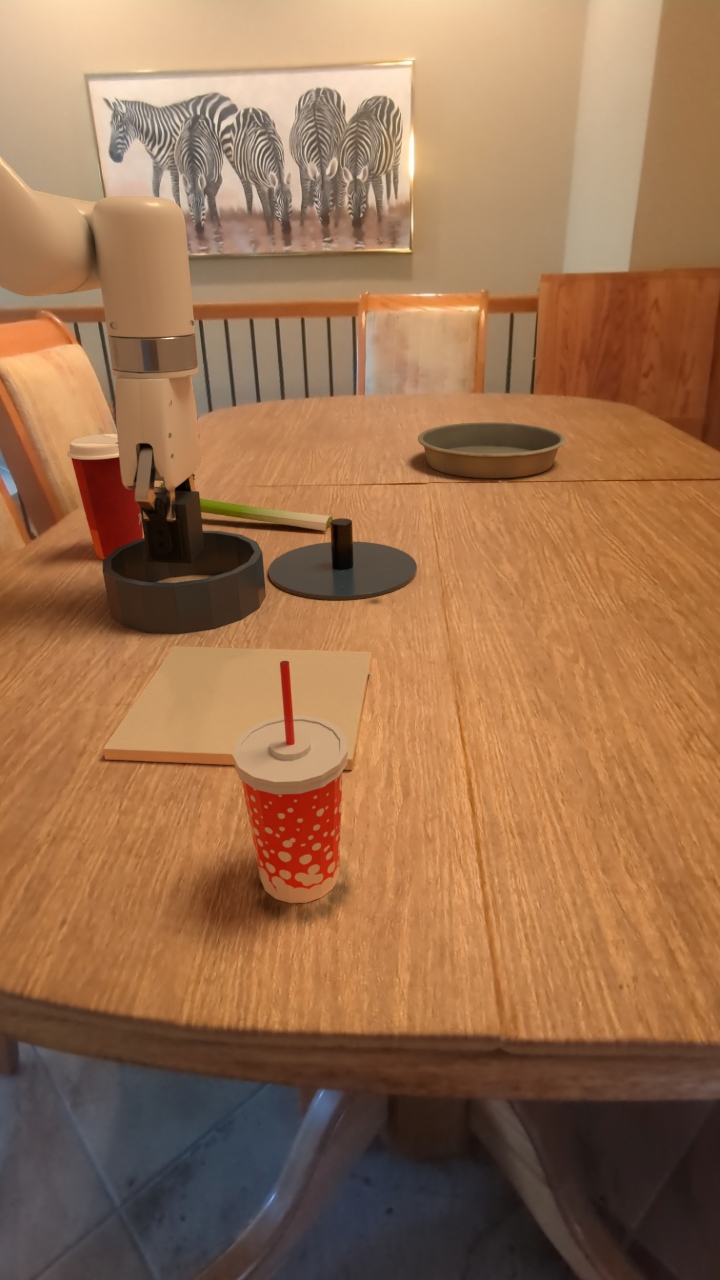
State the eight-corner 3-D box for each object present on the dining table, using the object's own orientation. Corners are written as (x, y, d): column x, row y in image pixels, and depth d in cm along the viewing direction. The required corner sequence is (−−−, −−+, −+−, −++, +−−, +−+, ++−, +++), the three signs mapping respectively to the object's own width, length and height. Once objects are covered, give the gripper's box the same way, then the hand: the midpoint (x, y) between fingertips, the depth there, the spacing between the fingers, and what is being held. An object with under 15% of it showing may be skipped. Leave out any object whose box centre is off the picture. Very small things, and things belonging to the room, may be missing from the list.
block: (147, 562, 74) (139, 502, 71) (162, 546, 78) (155, 489, 75) (191, 564, 74) (185, 504, 71) (204, 548, 78) (199, 491, 75)
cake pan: (387, 463, 130) (387, 436, 128) (480, 440, 145) (482, 416, 143) (499, 490, 114) (501, 461, 112) (592, 462, 128) (595, 435, 126)
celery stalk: (320, 555, 96) (110, 521, 102) (336, 544, 102) (138, 512, 108) (324, 508, 93) (109, 475, 100) (340, 499, 100) (137, 469, 106)
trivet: (104, 760, 54) (102, 748, 54) (174, 655, 69) (173, 645, 68) (352, 770, 53) (352, 759, 52) (372, 661, 67) (372, 651, 66)
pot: (86, 636, 72) (75, 583, 70) (143, 575, 86) (136, 529, 84) (245, 641, 71) (240, 587, 68) (278, 578, 85) (274, 531, 82)
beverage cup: (341, 920, 41) (331, 699, 34) (233, 906, 42) (204, 689, 35) (360, 842, 46) (356, 639, 40) (264, 832, 47) (244, 632, 41)
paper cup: (166, 549, 94) (149, 435, 87) (124, 570, 88) (103, 449, 81) (116, 541, 97) (97, 430, 90) (73, 561, 91) (49, 444, 84)
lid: (254, 603, 78) (249, 546, 76) (284, 548, 93) (280, 498, 90) (414, 607, 77) (414, 549, 74) (419, 550, 92) (419, 500, 89)
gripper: (146, 345, 75) (166, 521, 84) (72, 368, 60) (106, 579, 69) (220, 347, 75) (233, 524, 83) (164, 370, 60) (186, 583, 68)
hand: (175, 547), depth 76 cm, fingers closed on block, 4 cm apart
